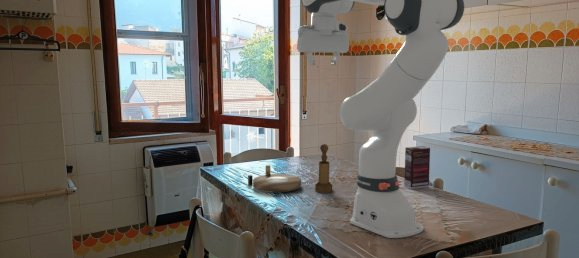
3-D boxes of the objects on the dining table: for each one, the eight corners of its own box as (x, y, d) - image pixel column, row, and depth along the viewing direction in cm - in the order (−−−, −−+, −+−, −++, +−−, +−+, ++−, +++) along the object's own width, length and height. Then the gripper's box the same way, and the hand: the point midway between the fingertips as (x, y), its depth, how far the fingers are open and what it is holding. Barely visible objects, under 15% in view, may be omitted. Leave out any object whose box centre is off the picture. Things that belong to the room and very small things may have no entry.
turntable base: (298, 189, 160) (298, 179, 160) (263, 194, 153) (263, 184, 153) (280, 180, 173) (280, 171, 172) (248, 184, 166) (247, 175, 166)
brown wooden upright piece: (331, 193, 155) (331, 146, 152) (314, 192, 156) (314, 145, 153) (333, 188, 161) (333, 143, 159) (316, 187, 162) (316, 142, 160)
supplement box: (421, 184, 167) (423, 145, 165) (429, 187, 163) (431, 147, 160) (403, 186, 164) (404, 147, 162) (410, 189, 160) (412, 149, 157)
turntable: (310, 187, 159) (310, 172, 158) (265, 194, 150) (265, 178, 149) (287, 176, 175) (287, 162, 174) (245, 182, 166) (245, 167, 165)
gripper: (302, 23, 139) (302, 65, 141) (351, 26, 149) (351, 65, 151) (293, 25, 145) (293, 65, 147) (341, 28, 154) (341, 65, 156)
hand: (323, 65), depth 149 cm, fingers open, 8 cm apart
